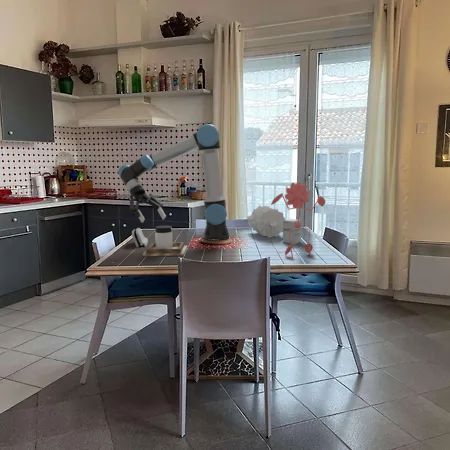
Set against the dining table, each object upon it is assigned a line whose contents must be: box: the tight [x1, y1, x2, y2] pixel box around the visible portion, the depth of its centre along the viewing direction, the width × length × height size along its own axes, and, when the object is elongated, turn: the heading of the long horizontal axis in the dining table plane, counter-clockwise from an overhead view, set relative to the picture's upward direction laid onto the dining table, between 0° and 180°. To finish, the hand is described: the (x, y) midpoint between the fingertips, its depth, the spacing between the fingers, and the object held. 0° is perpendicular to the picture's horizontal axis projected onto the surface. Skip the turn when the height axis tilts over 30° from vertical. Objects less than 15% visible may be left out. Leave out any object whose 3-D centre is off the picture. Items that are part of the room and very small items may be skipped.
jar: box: [154, 225, 174, 249], centre depth 221 cm, size 9×8×12 cm
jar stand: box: [142, 241, 188, 257], centre depth 223 cm, size 20×19×3 cm
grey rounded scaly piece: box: [246, 205, 286, 239], centre depth 262 cm, size 18×18×25 cm
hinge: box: [131, 227, 149, 248], centre depth 243 cm, size 17×5×10 cm, turn 6°
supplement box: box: [282, 218, 302, 245], centre depth 239 cm, size 7×7×13 cm
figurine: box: [270, 181, 326, 259], centre depth 209 cm, size 15×26×35 cm, turn 103°
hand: (154, 219), depth 226 cm, fingers open, 13 cm apart
